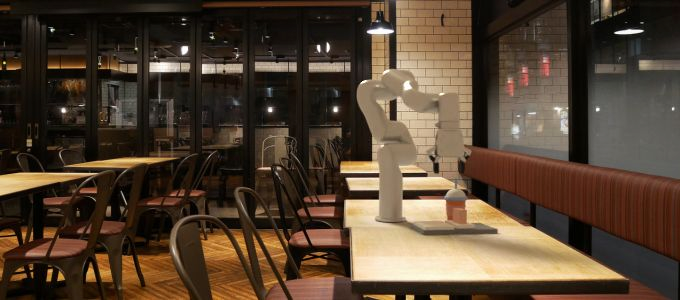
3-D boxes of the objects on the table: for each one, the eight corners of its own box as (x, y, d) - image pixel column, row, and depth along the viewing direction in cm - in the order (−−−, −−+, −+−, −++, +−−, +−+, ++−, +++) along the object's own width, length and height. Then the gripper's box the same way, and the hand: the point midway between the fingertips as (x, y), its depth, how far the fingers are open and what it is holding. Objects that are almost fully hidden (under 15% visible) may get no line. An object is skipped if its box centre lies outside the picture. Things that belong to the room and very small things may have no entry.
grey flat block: (410, 228, 227) (410, 221, 227) (480, 226, 233) (480, 219, 233) (423, 234, 213) (423, 227, 213) (497, 233, 218) (497, 225, 218)
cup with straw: (439, 222, 244) (440, 177, 243) (457, 220, 248) (458, 177, 247) (452, 225, 236) (453, 179, 235) (471, 224, 240) (472, 178, 239)
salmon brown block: (444, 223, 228) (444, 207, 228) (462, 223, 230) (462, 207, 229) (456, 228, 216) (456, 211, 216) (475, 228, 218) (475, 211, 218)
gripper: (430, 126, 215) (430, 174, 216) (475, 126, 219) (475, 173, 219) (422, 126, 223) (423, 173, 223) (466, 126, 227) (466, 172, 227)
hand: (449, 173), depth 221 cm, fingers open, 9 cm apart
